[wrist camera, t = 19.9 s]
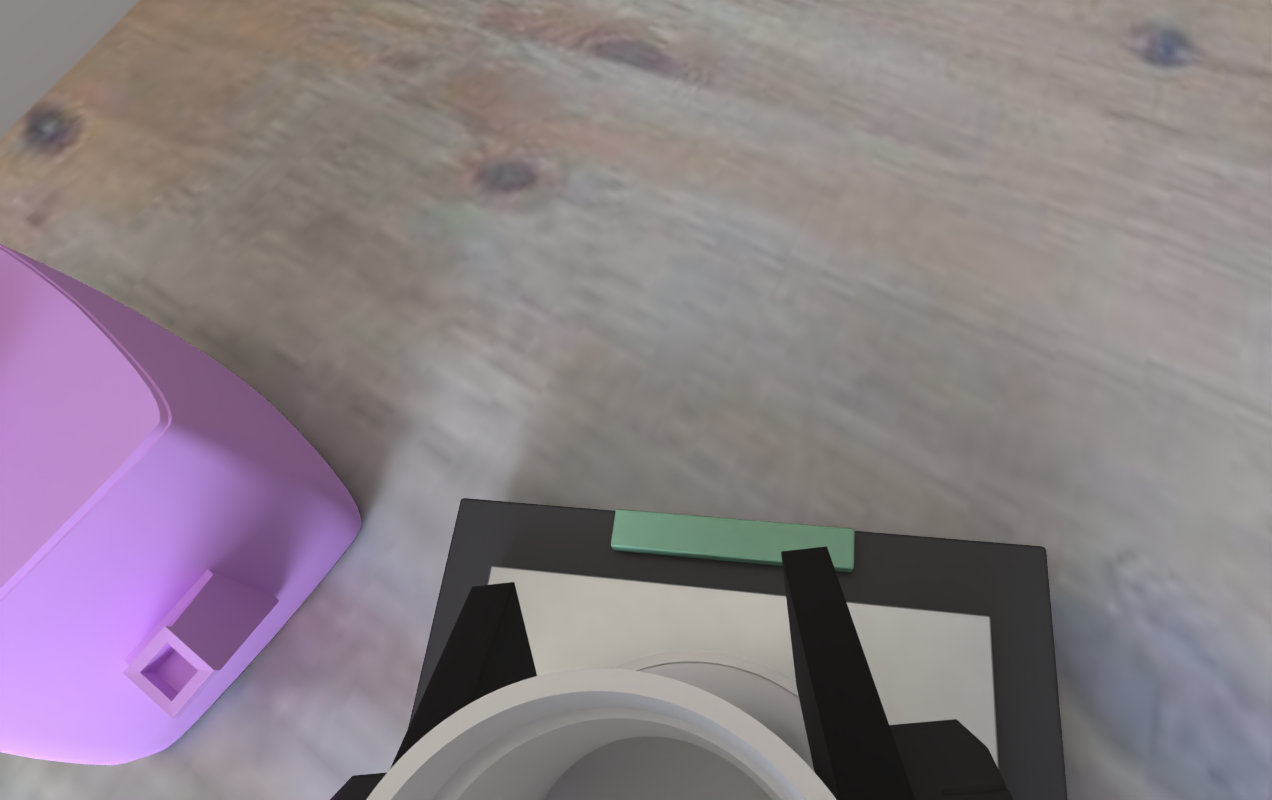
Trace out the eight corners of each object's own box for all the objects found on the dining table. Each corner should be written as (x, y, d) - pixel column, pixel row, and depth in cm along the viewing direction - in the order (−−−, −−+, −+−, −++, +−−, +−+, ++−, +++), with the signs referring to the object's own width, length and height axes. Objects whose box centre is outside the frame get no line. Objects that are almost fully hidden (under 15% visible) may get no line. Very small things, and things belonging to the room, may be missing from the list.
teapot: (481, 576, 24) (300, 453, 14) (222, 893, 21) (-202, 988, 12) (155, 302, 30) (-110, 100, 21) (-74, 516, 28) (-489, 390, 19)
